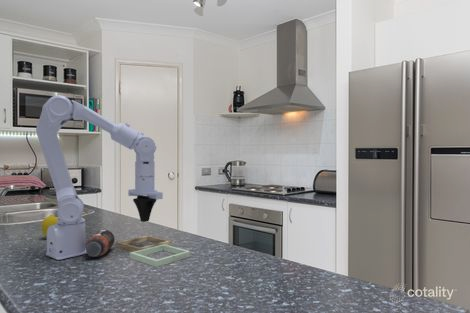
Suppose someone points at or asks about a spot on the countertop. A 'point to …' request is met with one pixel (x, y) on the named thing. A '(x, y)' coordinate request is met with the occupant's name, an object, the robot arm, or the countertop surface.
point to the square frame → (178, 256)
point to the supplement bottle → (99, 243)
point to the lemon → (48, 223)
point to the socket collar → (127, 246)
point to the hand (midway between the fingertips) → (144, 221)
